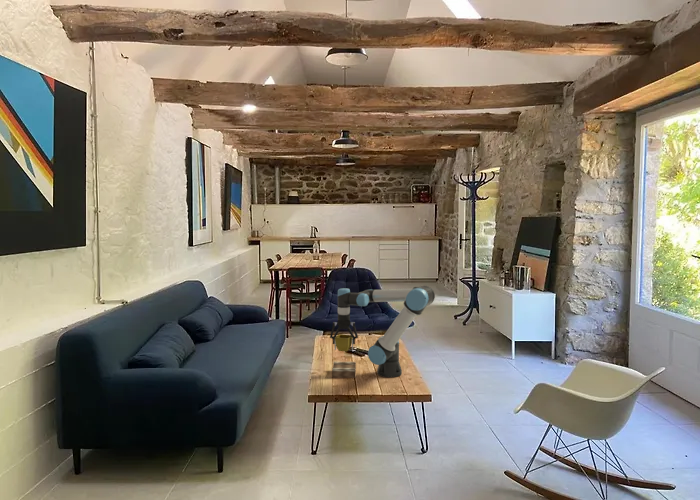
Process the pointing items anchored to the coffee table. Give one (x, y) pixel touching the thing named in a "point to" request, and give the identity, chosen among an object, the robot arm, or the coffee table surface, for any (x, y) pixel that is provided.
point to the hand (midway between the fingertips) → (343, 349)
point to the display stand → (344, 370)
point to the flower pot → (343, 342)
